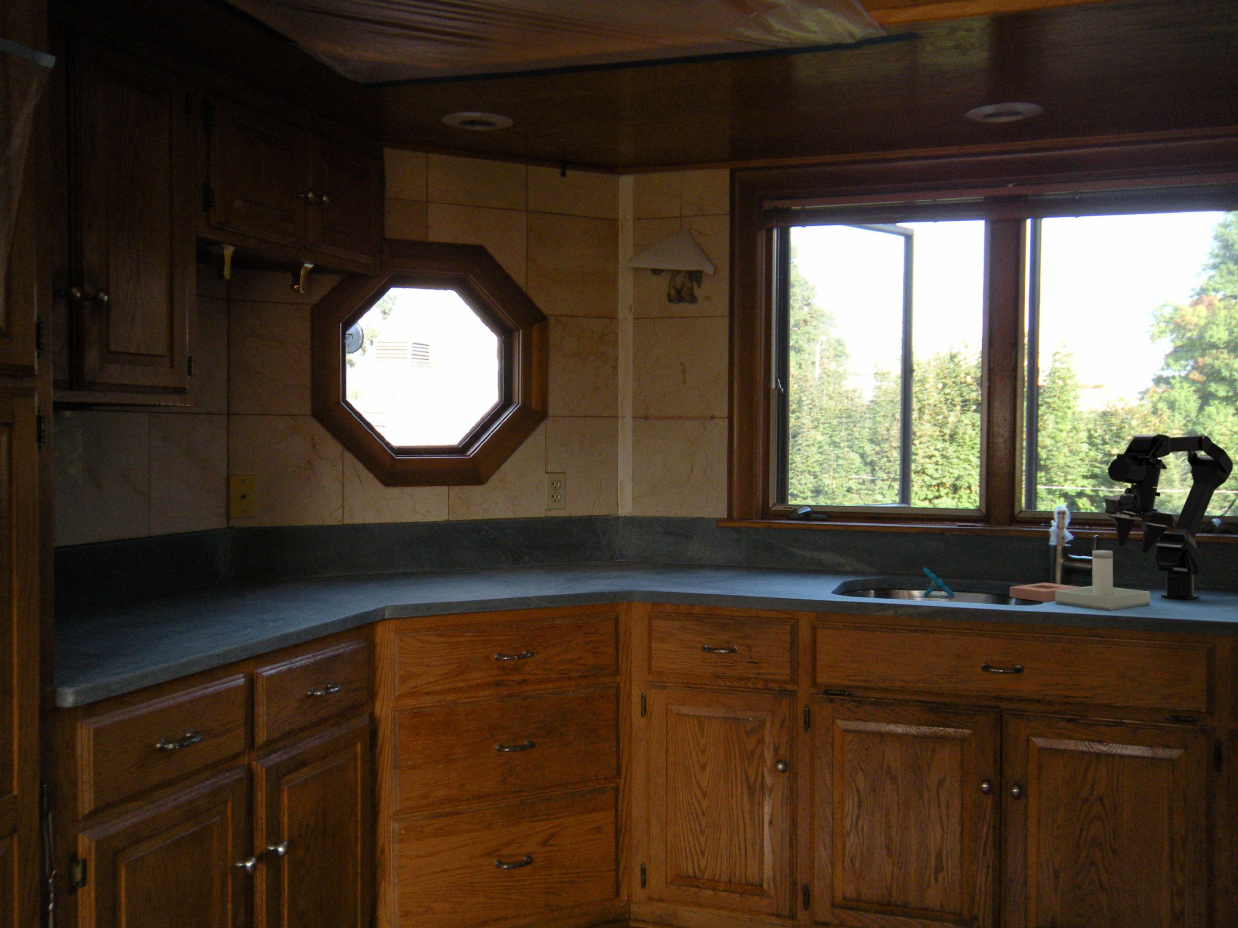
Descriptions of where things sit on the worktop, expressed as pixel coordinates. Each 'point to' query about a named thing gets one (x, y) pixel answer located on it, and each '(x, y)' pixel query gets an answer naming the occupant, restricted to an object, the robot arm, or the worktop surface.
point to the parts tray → (1102, 598)
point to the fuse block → (1038, 591)
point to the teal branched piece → (936, 584)
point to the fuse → (1102, 572)
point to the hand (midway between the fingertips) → (1132, 549)
